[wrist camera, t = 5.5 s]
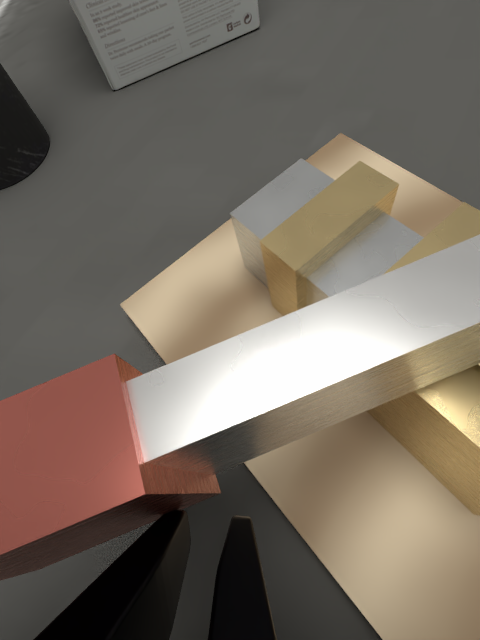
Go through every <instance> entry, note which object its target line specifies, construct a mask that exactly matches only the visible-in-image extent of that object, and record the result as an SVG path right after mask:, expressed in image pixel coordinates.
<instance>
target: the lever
mask: <svg viewBox="0 0 480 640" xmlns="http://www.w3.org/2000/svg"><path fill="white" fill-rule="evenodd" d="M477 364H478V365H479V366H480V235H477V236H475V237H473V238H470V239H468V240H465V241H463V242H460V243H458V244H456V245H453V246H451V247H448V248H446V249H444V250H441V251H439V252H436V253H434V254H432V255H429V256H427V257H424V258H422V259H420V260H417V261H415V262H412V263H410V264H408V265H405V266H403V267H400V268H398V269H396V270H393V271H391V272H388V273H386V274H384V275H381V276H379V277H376V278H374V279H372V280H369V281H367V282H364V283H362V284H360V285H357V286H355V287H352V288H350V289H347V290H345V291H343V292H340V293H338V294H335V295H333V296H331V297H328V298H326V299H323V300H321V301H319V302H316V303H314V304H311V305H309V306H307V307H304V308H302V309H299V310H297V311H295V312H292V313H290V314H287V315H285V316H283V317H280V318H278V319H275V320H273V321H271V322H268V323H266V324H263V325H261V326H259V327H256V328H254V329H251V330H249V331H246V332H244V333H242V334H239V335H237V336H234V337H232V338H230V339H227V340H225V341H222V342H220V343H218V344H215V345H213V346H210V347H208V348H206V349H203V350H201V351H198V352H196V353H194V354H191V355H189V356H186V357H184V358H182V359H179V360H177V361H174V362H172V363H170V364H167V365H165V366H162V367H160V368H158V369H155V370H153V371H150V372H148V373H145V374H142V373H141V372H139V371H138V370H137V369H135V368H134V367H132V366H131V365H130V364H128V363H127V362H125V361H124V360H123V359H121V358H120V357H118V356H117V355H116V354H112V355H110V356H108V357H105V358H103V359H100V360H98V361H96V362H93V363H91V364H88V365H86V366H84V367H81V368H79V369H76V370H74V371H71V372H69V373H67V374H64V375H62V376H59V377H57V378H55V379H52V380H50V381H47V382H45V383H43V384H40V385H38V386H35V387H33V388H31V389H28V390H26V391H23V392H21V393H18V394H16V395H14V396H11V397H9V398H6V399H4V400H2V401H0V581H1V580H4V579H7V578H11V577H14V576H18V575H21V574H25V573H28V572H32V571H35V570H39V569H42V568H44V567H46V566H49V565H51V564H53V563H56V562H58V561H61V560H63V559H65V558H68V557H70V556H72V555H75V554H77V553H80V552H82V551H84V550H87V549H89V548H92V547H94V546H96V545H99V544H101V543H103V542H106V541H108V540H111V539H113V538H115V537H118V536H120V535H122V534H125V533H127V532H130V531H132V530H134V529H137V528H139V527H141V526H144V525H146V524H149V523H151V522H153V521H156V520H158V519H159V518H160V517H161V516H162V515H163V514H165V513H168V512H171V511H174V510H182V509H184V508H187V507H189V506H191V505H194V504H196V503H199V502H201V501H203V500H206V499H208V498H210V497H213V496H215V495H218V494H220V493H221V491H220V488H219V484H218V481H217V478H216V475H215V474H218V473H220V472H222V471H225V470H227V469H229V468H232V467H234V466H237V465H239V464H241V463H244V462H246V461H249V460H251V459H253V458H256V457H258V456H260V455H263V454H265V453H268V452H270V451H272V450H275V449H277V448H279V447H282V446H284V445H287V444H289V443H291V442H294V441H296V440H299V439H301V438H303V437H306V436H308V435H310V434H313V433H315V432H318V431H320V430H322V429H325V428H327V427H330V426H332V425H334V424H337V423H339V422H341V421H344V420H346V419H349V418H351V417H353V416H356V415H358V414H361V413H363V412H365V411H368V410H370V409H372V408H375V407H377V406H380V405H382V404H384V403H387V402H389V401H391V400H394V399H396V398H399V397H401V396H403V395H406V394H408V393H411V392H413V391H415V390H418V389H420V388H422V387H425V386H427V385H430V384H432V383H434V382H437V381H439V380H442V379H444V378H446V377H449V376H451V375H453V374H456V373H458V372H461V371H463V370H465V369H468V368H470V367H473V366H475V365H477Z"/></svg>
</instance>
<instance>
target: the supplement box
mask: <svg viewBox="0 0 480 640" xmlns="http://www.w3.org/2000/svg"><path fill="white" fill-rule="evenodd" d="M68 1H69V3H70V5H71V7H72V9H73V11H74V13H75V15H76V17H77V19H78V21H79V23H80V25H81V27H82V29H83V31H84V33H85V35H86V37H87V39H88V42H89V44H90V46H91V48H92V50H93V52H94V54H95V56H96V58H97V60H98V62H99V64H100V66H101V68H102V70H103V72H104V74H105V76H106V78H107V80H108V82H109V84H110V86H111V88H112V89H113V90H118V89H120V88H122V87H124V86H126V85H129V84H131V83H133V82H136V81H138V80H141V79H143V78H145V77H147V76H150V75H152V74H154V73H157V72H159V71H161V70H163V69H166V68H168V67H170V66H172V65H175V64H177V63H179V62H182V61H184V60H186V59H188V58H191V57H193V56H195V55H198V54H200V53H202V52H205V51H207V50H209V49H212V48H214V47H216V46H218V45H220V44H223V43H225V42H227V41H230V40H232V39H234V38H236V37H239V36H241V35H243V34H246V33H248V32H250V31H252V30H255V29H256V28H258V27H259V26H260V19H259V10H258V0H68Z"/></svg>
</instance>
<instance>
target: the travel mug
mask: <svg viewBox="0 0 480 640" xmlns="http://www.w3.org/2000/svg"><path fill="white" fill-rule="evenodd" d="M48 149H49V137H48V134H47V132H46V130H45V129H44V127H43V126H42V124H41V123H40V121H39V120H38V118H37V117H36V115H35V114H34V112H33V111H32V109H31V108H30V106H29V105H28V103H27V102H26V100H25V99H24V97H23V96H22V94H21V93H20V92H19V90H18V89H17V87H16V86H15V84H14V83H13V81H12V80H11V78H10V77H9V75H8V74H7V72H6V71H5V70H4V68H3V67H2V65H1V64H0V189H3V188H6V187H8V186H11V185H13V184H15V183H17V182H19V181H21V180H22V179H24V178H25V177H27V176H28V175H29V174H30V173H32V172H33V171H34V170H35V169H36V168H37V167H38V166H39V165H40V163H41V162H42V161H43V159H44V158H45V156H46V154H47V152H48Z"/></svg>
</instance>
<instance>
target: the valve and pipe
mask: <svg viewBox="0 0 480 640" xmlns="http://www.w3.org/2000/svg"><path fill="white" fill-rule="evenodd" d="M398 187H399V184H398V183H397V182H395V181H393V180H392V179H390V178H388V177H387V176H385V175H383V174H382V173H380V172H378V171H377V170H375V169H373V168H371V167H370V166H368V165H366V164H365V163H363V162H361V161H358V162H357V163H356V164H355V165H354V166H352V167H351V168H350V169H349V170H347V171H346V172H345V173H344V174H342V175H341V176H340V177H339V178H337V179H336V180H334V179H333V178H331V177H329V176H328V175H326V174H325V173H323V172H322V171H320V170H319V169H317V168H316V167H314V166H312V165H311V164H309V163H308V162H306V161H305V160H303V159H302V158H301V159H300V160H298V161H297V162H296V163H294V164H293V165H292V166H290V167H289V168H288V169H287V170H285V171H284V172H283V173H281V174H280V175H279V176H278V177H276V178H275V179H274V180H272V181H271V182H270V183H269V184H267V185H266V186H265V187H263V188H262V189H261V190H259V191H258V192H257V193H256V194H254V195H253V196H252V197H250V198H249V199H248V200H247V201H245V202H244V203H243V204H241V205H240V206H239V207H238V208H236V209H235V210H234V211H232V212H231V213H230V216H231V219H232V223H233V227H234V230H235V234H236V237H237V241H238V244H239V248H240V252H241V255H242V259H243V262H244V266H245V268H246V269H247V270H248V271H249V272H250V273H252V274H253V275H254V276H255V277H256V278H257V279H258V280H259V281H260V282H261V283H262V284H264V285H265V286H266V287H267V288H268V289H269V293H270V298H271V303H272V306H273V307H274V308H275V309H276V310H277V311H278V312H279V313H280V314H281V315H282V316H285V315H287V314H290V313H292V312H295V311H297V310H299V309H302V308H304V307H307V306H309V305H311V304H314V303H316V302H319V301H321V300H323V299H326V298H328V297H331V296H333V295H335V294H338V293H340V292H343V291H345V290H347V289H350V288H352V287H355V286H357V285H360V284H362V283H364V282H367V281H369V280H372V279H374V278H376V277H379V276H381V275H384V274H386V273H388V272H391V271H393V270H396V269H398V268H400V267H403V266H405V265H408V264H410V263H412V262H415V261H417V260H420V259H422V258H424V257H427V256H429V255H432V254H434V253H436V252H439V251H441V250H444V249H446V248H448V247H451V246H453V245H456V244H458V243H460V242H463V241H465V240H468V239H470V238H473V237H475V236H477V235H480V211H479V210H477V209H476V208H474V207H472V206H470V205H469V204H467V203H465V202H464V203H463V204H462V205H460V206H459V207H458V208H457V209H456V210H455V211H454V212H452V213H451V214H450V215H449V216H448V217H447V218H446V219H445V220H443V221H442V222H441V223H440V224H439V225H438V226H437V227H436V228H434V229H433V230H432V231H431V232H430V233H429V234H428V235H427V236H425V237H422V236H420V235H419V234H417V233H416V232H414V231H413V230H411V229H410V228H408V227H407V226H405V225H404V224H402V223H400V222H399V221H397V220H396V219H394V218H393V217H391V216H390V214H391V210H392V207H393V203H394V200H395V197H396V193H397V190H398ZM367 412H368V413H369V414H370V415H371V416H372V417H373V418H374V419H375V420H376V421H377V422H378V423H379V424H380V425H381V426H382V427H383V428H384V429H385V430H386V431H387V432H389V433H390V434H391V435H392V436H393V437H394V438H395V439H396V440H397V441H398V442H399V443H400V444H401V445H402V446H403V447H404V448H405V449H406V450H407V451H408V452H409V453H410V454H411V455H412V456H413V457H414V458H416V459H417V460H418V461H419V462H420V463H421V464H422V465H423V466H424V467H425V468H426V469H427V470H428V471H429V472H430V473H431V474H432V475H433V476H434V477H435V478H436V479H437V480H438V481H439V482H440V483H441V484H442V485H444V486H445V487H446V488H447V489H448V490H449V491H450V492H451V493H452V494H453V495H454V496H455V497H456V498H457V499H458V500H459V501H460V502H461V503H462V504H463V505H464V506H465V507H466V508H467V509H468V510H469V511H470V512H472V513H473V514H474V515H479V516H480V366H479V365H478V364H477V365H475V366H473V367H470V368H468V369H465V370H463V371H461V372H458V373H456V374H453V375H451V376H449V377H446V378H444V379H442V380H439V381H437V382H434V383H432V384H430V385H427V386H425V387H422V388H420V389H418V390H415V391H413V392H411V393H408V394H406V395H403V396H401V397H399V398H396V399H394V400H391V401H389V402H387V403H384V404H382V405H380V406H377V407H375V408H372V409H370V410H368V411H367Z"/></svg>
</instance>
